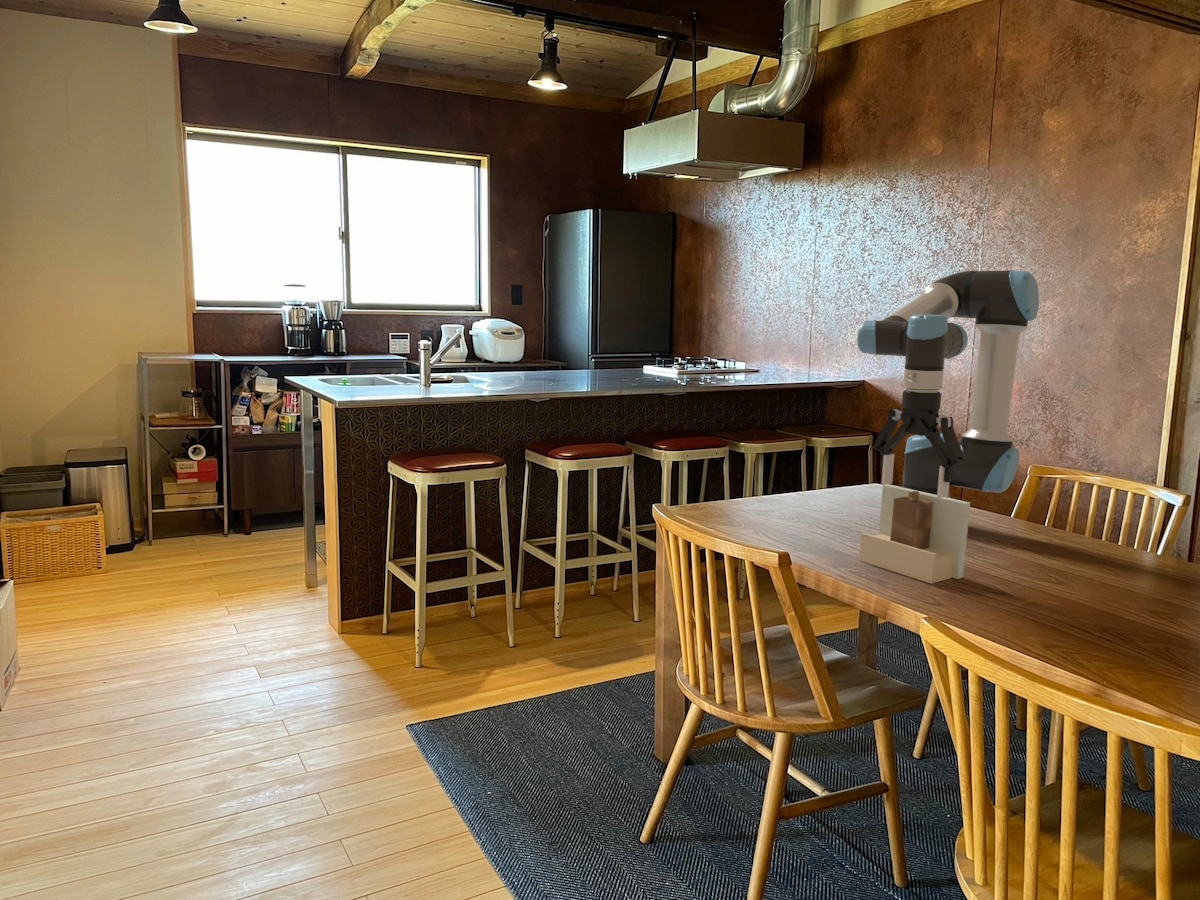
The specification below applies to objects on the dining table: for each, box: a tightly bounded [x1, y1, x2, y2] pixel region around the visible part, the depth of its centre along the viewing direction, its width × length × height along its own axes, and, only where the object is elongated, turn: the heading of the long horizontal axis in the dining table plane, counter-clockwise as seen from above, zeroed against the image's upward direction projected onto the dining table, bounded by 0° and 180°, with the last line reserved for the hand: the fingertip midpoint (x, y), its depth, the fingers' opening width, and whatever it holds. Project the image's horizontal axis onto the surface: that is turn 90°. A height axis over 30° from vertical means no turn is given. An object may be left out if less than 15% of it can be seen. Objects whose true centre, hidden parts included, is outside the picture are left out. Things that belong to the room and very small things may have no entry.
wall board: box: [858, 484, 971, 585], centre depth 183 cm, size 10×20×16 cm, turn 35°
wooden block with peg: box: [890, 491, 933, 549], centre depth 183 cm, size 5×6×12 cm
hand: (913, 490), depth 182 cm, fingers open, 13 cm apart
